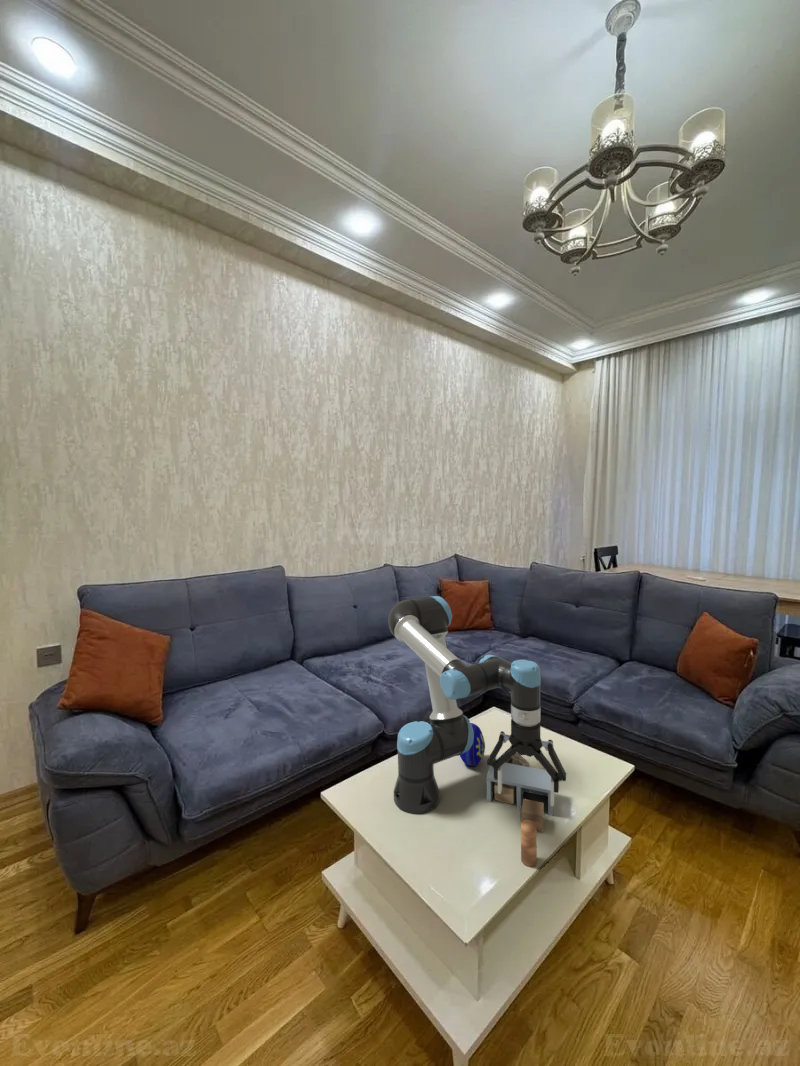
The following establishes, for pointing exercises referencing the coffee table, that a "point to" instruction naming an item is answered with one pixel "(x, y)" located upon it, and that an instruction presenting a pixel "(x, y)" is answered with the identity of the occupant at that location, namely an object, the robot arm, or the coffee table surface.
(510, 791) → the oak block
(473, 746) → the ornament
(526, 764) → the stone
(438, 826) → the coffee table surface
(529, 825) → the tethered block
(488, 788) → the cubby shelf
